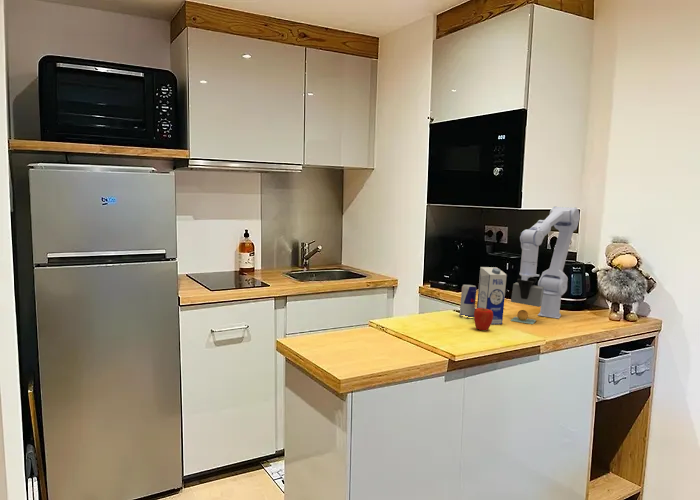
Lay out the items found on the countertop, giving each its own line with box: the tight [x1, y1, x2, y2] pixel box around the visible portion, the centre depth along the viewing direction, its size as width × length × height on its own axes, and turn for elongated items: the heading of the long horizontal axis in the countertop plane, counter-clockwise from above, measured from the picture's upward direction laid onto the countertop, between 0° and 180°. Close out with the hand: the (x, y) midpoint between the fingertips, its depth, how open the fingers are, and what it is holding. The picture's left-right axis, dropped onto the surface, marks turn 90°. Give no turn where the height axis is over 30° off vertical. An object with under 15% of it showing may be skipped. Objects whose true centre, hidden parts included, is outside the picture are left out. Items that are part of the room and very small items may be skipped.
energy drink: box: [459, 284, 477, 317], centre depth 196 cm, size 5×5×12 cm
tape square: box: [510, 316, 537, 325], centre depth 197 cm, size 8×8×1 cm
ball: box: [516, 309, 529, 321], centre depth 196 cm, size 4×4×4 cm
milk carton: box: [476, 266, 508, 325], centre depth 189 cm, size 7×7×20 cm
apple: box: [473, 307, 493, 331], centre depth 177 cm, size 6×6×8 cm
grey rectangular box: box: [510, 281, 544, 308], centre depth 195 cm, size 6×10×7 cm, turn 62°
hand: (525, 297), depth 196 cm, fingers closed on grey rectangular box, 6 cm apart
